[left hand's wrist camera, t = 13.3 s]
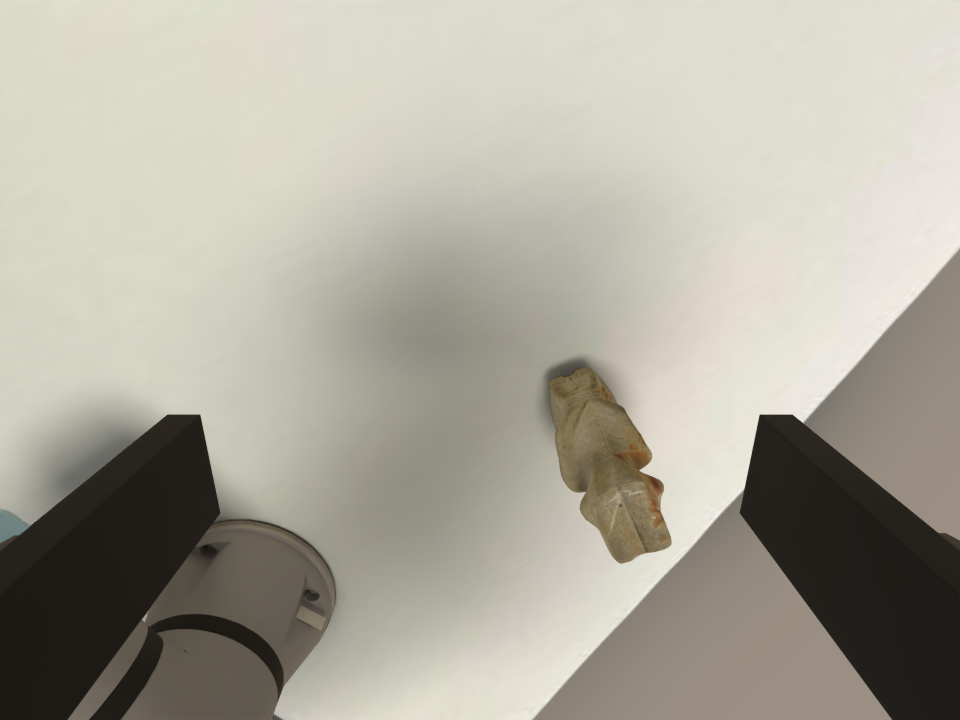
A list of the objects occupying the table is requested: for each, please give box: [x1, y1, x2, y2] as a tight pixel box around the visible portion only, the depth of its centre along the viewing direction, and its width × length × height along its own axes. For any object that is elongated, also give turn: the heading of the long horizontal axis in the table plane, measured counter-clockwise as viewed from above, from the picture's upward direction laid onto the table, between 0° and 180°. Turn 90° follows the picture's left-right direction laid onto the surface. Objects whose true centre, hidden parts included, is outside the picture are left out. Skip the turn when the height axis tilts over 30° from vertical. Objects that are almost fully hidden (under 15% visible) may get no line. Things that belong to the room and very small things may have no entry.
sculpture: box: [549, 367, 672, 563], centre depth 35 cm, size 6×7×15 cm
